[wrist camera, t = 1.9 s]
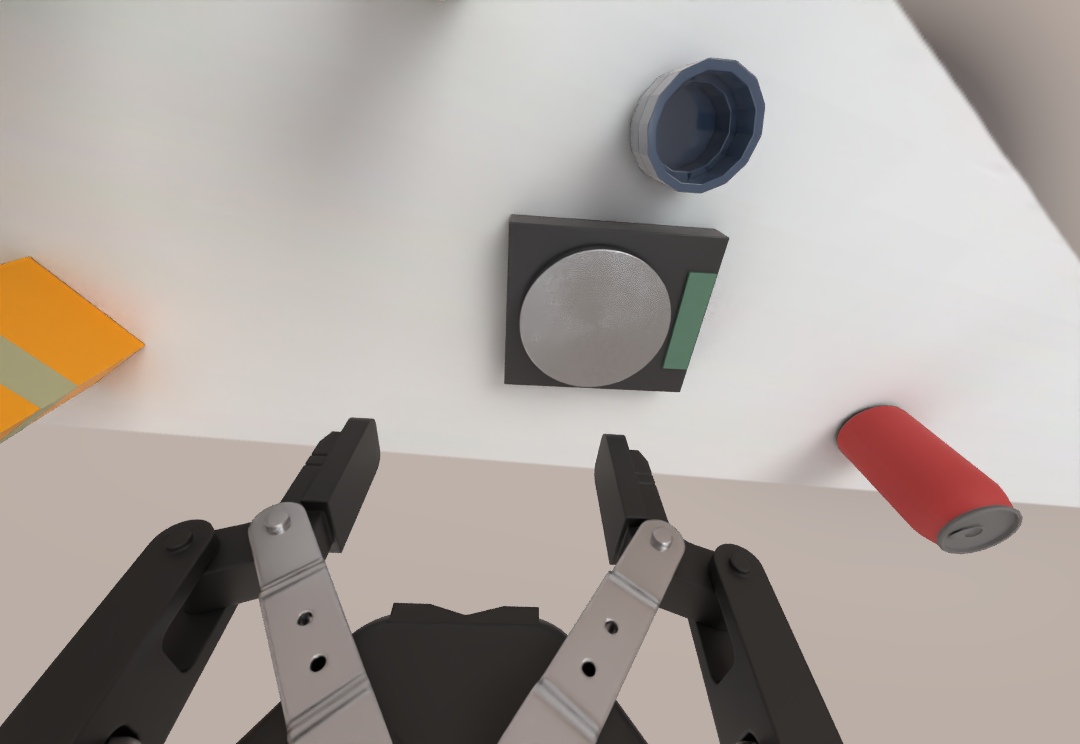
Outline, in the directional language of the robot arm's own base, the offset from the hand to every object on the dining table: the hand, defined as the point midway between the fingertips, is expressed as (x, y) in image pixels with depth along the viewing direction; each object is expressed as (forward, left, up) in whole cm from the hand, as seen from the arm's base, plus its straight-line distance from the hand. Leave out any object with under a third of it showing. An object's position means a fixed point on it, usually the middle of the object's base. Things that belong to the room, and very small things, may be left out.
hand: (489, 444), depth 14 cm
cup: (-10, +10, -19) cm, 24 cm away
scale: (+3, +7, -19) cm, 21 cm away
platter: (+3, +6, -16) cm, 18 cm away
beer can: (+14, +36, -20) cm, 44 cm away
